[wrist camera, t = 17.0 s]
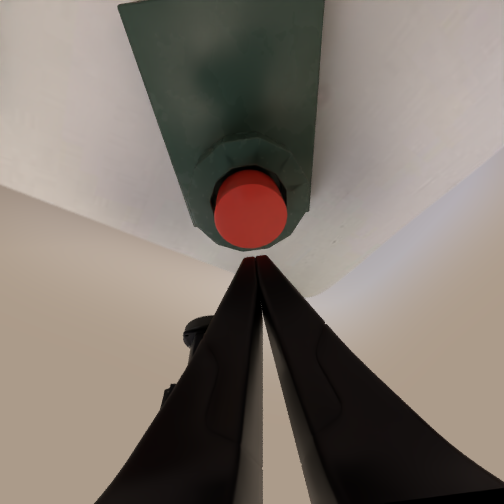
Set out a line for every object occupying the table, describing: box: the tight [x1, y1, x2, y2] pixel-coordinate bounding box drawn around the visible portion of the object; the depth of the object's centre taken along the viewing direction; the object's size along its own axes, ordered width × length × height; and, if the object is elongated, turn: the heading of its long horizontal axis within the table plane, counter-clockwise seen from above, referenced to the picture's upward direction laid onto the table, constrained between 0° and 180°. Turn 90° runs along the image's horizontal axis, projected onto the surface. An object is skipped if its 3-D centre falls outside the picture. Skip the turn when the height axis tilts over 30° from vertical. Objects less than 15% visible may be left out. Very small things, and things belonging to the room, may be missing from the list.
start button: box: [214, 169, 287, 248], centre depth 11 cm, size 4×4×2 cm
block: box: [118, 0, 325, 252], centre depth 11 cm, size 11×8×3 cm
